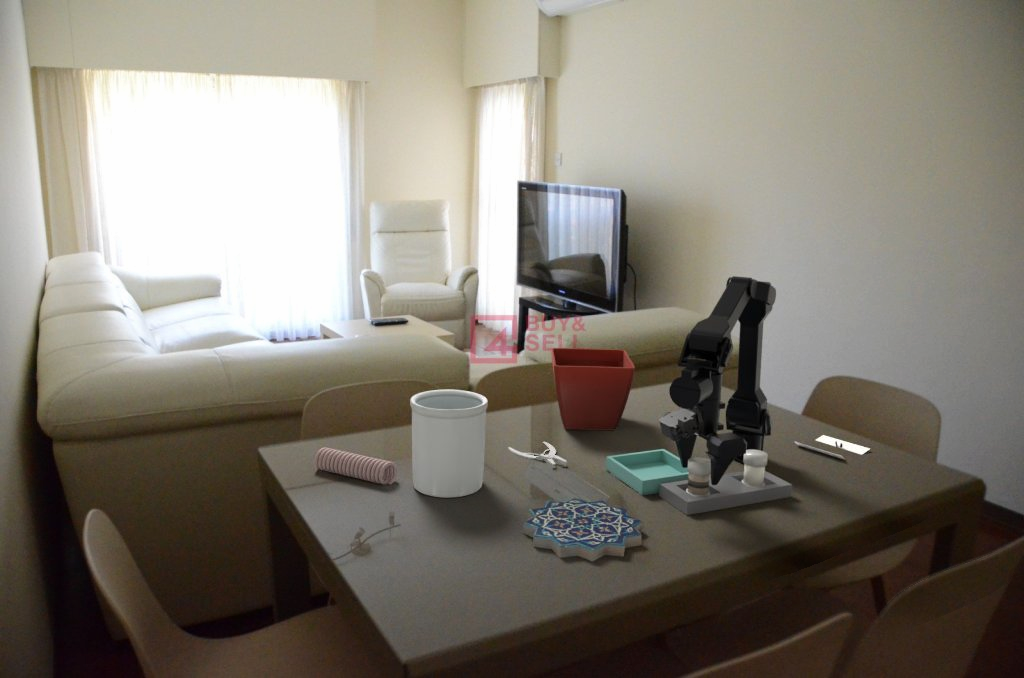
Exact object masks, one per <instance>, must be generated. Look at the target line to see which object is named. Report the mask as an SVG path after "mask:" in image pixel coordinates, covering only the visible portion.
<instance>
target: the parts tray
mask: <svg viewBox="0 0 1024 678" xmlns="http://www.w3.org/2000/svg"><path fill="white" fill-rule="evenodd" d="M605 458H606V462H605V471H606V470H607V472H608V471H609V472H610V473H612V474H613V475H615V476H616V477H617V478H616V477H615V476H614V477H615V478H616V479H618V478H619V479H620V480H622V481H623V482H625V483H626V484H627V485H629V486H630V487H631V488H630V487H629V486H628V487H629V488H630V489H632V488H633V489H634V490H633V489H632V490H633V491H635V492H636V491H637V492H638V493H637V492H636V493H637V494H639V495H640V494H641V495H640V496H646V495H652V494H653V495H654V494H659V493H660V484H664V483H670V482H677V481H683V480H688V477H689V472H688V471H687V468H688V467H687V468H683V467H682V465H681V461H680V457H679V456H677V455H675V454H674V453H672V452H670V451H668V450H666V449H665V448H661V449H654V450H646V451H639V452H637V451H636V452H630V453H629V452H628V453H623V454H615V455H608V456H606V457H605ZM609 472H608V473H609ZM610 473H609V474H610ZM612 474H611V475H612ZM613 475H612V476H613ZM619 479H618V480H619ZM620 480H619V481H620ZM622 481H621V482H622ZM623 482H622V483H623ZM625 483H624V484H625ZM626 484H625V485H626ZM627 485H626V486H627Z"/></svg>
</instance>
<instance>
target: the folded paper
mask: <svg viewBox="0 0 1024 678" xmlns="http://www.w3.org/2000/svg"><path fill="white" fill-rule="evenodd" d="M815 441H816V442H819V443H823V444H825V445H830V446H832V447H834V448H837V449H838V448H839V449H842V450H845V451H849V452H852V453H855V454H858V455H864V454H865V453H867V452H868V451H870V449H871V448H869V447H867V446H862V445H859V444H855V443H851V442H849V441H845V440H842V439H840V438H839V439H838V438H835V437H832V436H828V435H825V434H822V435H821V436H819V437H817V438H816V439H815ZM794 443H795V444H796V445H797V446H799V447H802V448H805V449H807V450H811V451H815V452H818V453H821V454H825V455H828V456H830V457H831V456H832V457H834V458H838V459H840V460H843V461H845V460H846V458H844V456H843V455H841V454H837V453H834V452H831V451H828V450H825V449H821V448H818V447H816V446H815V447H814V446H812V445H811V446H810V445H807V444H804V443H801V442H799V441H795V440H794Z"/></svg>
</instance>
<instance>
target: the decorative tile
mask: <svg viewBox="0 0 1024 678" xmlns="http://www.w3.org/2000/svg"><path fill="white" fill-rule="evenodd" d="M522 524H523V525H522V526H523V528H522V530H523V531H522V533H523V534H524V535H526V536H528V537H531V538H533V539H532V540H533V541H532V542H533V544H532V545H533V548H538V549H539V548H540V549H547V550H552V551H553V552H554V554H555V555H556V556H557V557H558V558H561V559H562V558H568V557H576V556H577V557H580V558H582V559H585V560H588V561H590V562H595V561H596V560H598V559H600V558H602V557H603V556H613V557H624V556H625V551H626V548H632V547H637V546H642V531H643V530H642V529H643V521H642V520H641V519H638V518H636V517H632V516H630V515H628V510H627V508H623V507H622V508H621V507H616V506H611V505H610V504H608V503H607V502H606V501H605V500H591V501H587V500H584V499H581V498H578V497H572V498H570V499H567V500H565V501H559V500H558V501H556V500H555V501H554V500H547V501H546V503H545V505H544V507H537V508H530V509H528V519H527V520H526V521H524V522H523V523H522Z"/></svg>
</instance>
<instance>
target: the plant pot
mask: <svg viewBox="0 0 1024 678" xmlns="http://www.w3.org/2000/svg"><path fill="white" fill-rule="evenodd" d="M550 352H551V353H550V354H551V363H552V371H553V379H554V385H555V393H556V398H557V405H558V409H559V415H560V418H561V422H562V426H563V428H564V429H566V430H587V431H588V430H589V431H592V430H593V431H615V430H617V428H618V426H619V424H620V421H621V419H622V417H623V414H624V412H625V409H626V405H627V403H628V400H629V399H628V398H629V396H630V392H631V389H632V385H633V380H634V377H635V376H634V375H635V370H636V366H635V365H634V362H633V361H632V360H631V358H630V357H629V354H628V353H627V351H626V350H624V349H612V348H611V349H610V348H609V349H604V348H574V347H573V348H572V347H571V348H569V347H566V348H565V347H554V348H551V349H550Z"/></svg>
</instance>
